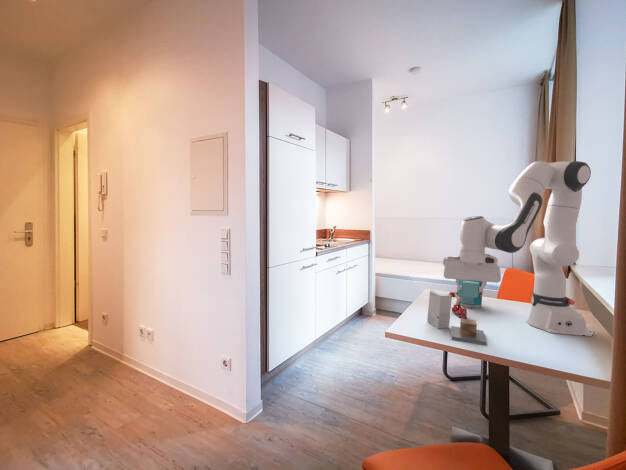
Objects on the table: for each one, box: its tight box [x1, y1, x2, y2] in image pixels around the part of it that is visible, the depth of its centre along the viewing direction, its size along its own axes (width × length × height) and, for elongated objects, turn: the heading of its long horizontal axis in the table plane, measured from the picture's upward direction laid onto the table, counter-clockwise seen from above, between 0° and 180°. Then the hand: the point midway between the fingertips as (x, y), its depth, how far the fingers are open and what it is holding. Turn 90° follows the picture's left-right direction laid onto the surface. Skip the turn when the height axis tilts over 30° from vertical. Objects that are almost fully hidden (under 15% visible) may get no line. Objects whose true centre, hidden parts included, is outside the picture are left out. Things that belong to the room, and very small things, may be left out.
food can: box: [456, 280, 483, 309], centre depth 164 cm, size 12×12×18 cm
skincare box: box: [426, 289, 453, 329], centre depth 136 cm, size 8×6×15 cm
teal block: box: [462, 281, 479, 298], centre depth 123 cm, size 6×6×5 cm
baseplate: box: [450, 325, 487, 346], centre depth 124 cm, size 12×12×1 cm
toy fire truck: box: [448, 291, 468, 319], centre depth 151 cm, size 3×14×10 cm, turn 179°
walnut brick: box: [459, 318, 478, 337], centre depth 124 cm, size 6×6×5 cm
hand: (470, 291), depth 123 cm, fingers closed on teal block, 6 cm apart
